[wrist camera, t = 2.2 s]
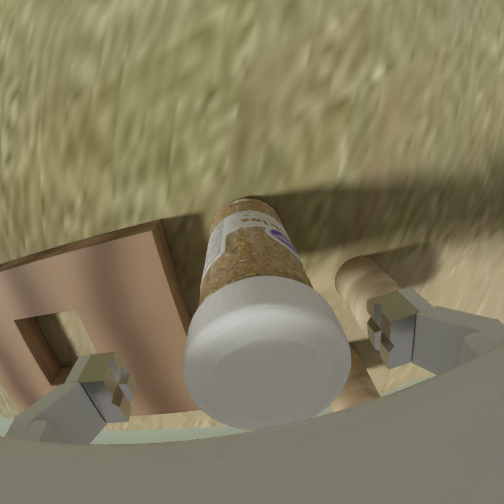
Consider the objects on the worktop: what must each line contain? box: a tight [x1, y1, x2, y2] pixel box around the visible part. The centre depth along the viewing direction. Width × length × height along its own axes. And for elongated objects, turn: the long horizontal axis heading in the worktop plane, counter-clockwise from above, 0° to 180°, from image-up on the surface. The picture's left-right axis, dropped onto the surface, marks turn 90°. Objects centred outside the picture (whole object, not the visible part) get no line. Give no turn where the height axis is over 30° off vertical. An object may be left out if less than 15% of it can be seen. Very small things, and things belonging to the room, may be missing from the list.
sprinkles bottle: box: [183, 198, 351, 431], centre depth 14 cm, size 5×5×13 cm
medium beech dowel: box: [330, 345, 381, 412], centre depth 21 cm, size 3×3×8 cm
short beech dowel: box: [335, 256, 402, 336], centre depth 20 cm, size 3×3×5 cm
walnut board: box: [0, 219, 201, 416], centre depth 21 cm, size 20×14×2 cm
